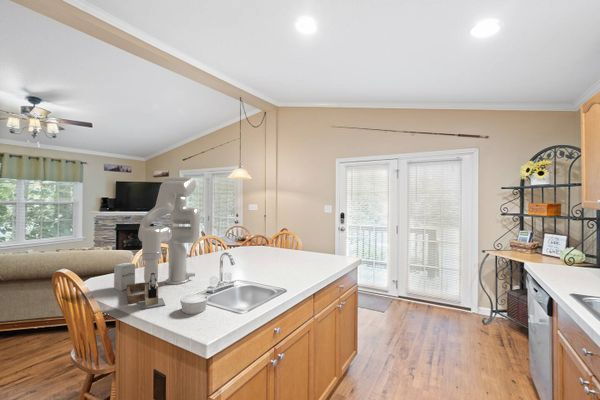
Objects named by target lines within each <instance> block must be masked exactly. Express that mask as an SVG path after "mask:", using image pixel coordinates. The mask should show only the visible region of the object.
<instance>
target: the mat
mask: <svg viewBox="0 0 600 400" xmlns="http://www.w3.org/2000/svg"><path fill="white" fill-rule="evenodd" d="M137 304H138V308H139V311H143V310H147V309H148V310H149V309H154V308H160V307H164V306H165V307H166V302H165V301H164V298H163V297H158V304H153V305H147V306H146V305H145V301H139V302H137Z"/></svg>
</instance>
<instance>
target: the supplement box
mask: <svg viewBox="0 0 600 400" xmlns="http://www.w3.org/2000/svg"><path fill="white" fill-rule="evenodd" d="M113 272H114V275H113V288H114V289H116V290H119V291H124V290H127V285H129V284H136V264H135V263H132V262H124V263H118V264H114V269H113Z"/></svg>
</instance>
